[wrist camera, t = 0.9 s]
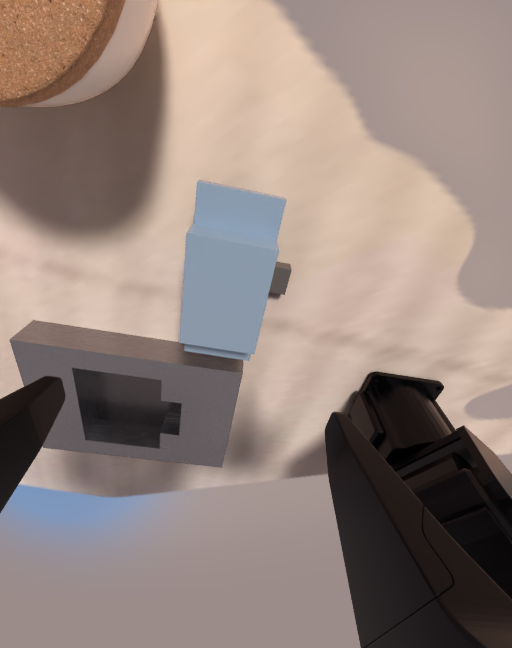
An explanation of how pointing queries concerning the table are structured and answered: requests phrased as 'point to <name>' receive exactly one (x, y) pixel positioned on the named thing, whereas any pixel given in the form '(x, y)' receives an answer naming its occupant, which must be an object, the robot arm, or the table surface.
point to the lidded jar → (68, 48)
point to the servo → (230, 269)
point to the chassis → (132, 393)
